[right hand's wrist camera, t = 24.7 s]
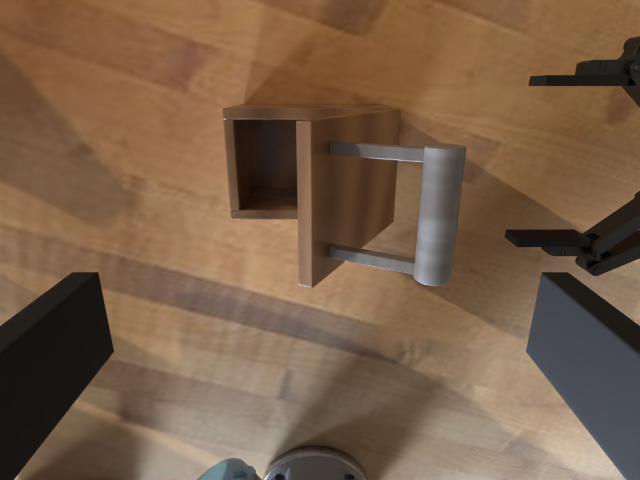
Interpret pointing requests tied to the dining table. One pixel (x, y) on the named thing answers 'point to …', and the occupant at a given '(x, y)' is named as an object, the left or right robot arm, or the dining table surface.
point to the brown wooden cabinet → (269, 155)
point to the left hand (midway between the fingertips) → (522, 164)
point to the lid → (371, 196)
